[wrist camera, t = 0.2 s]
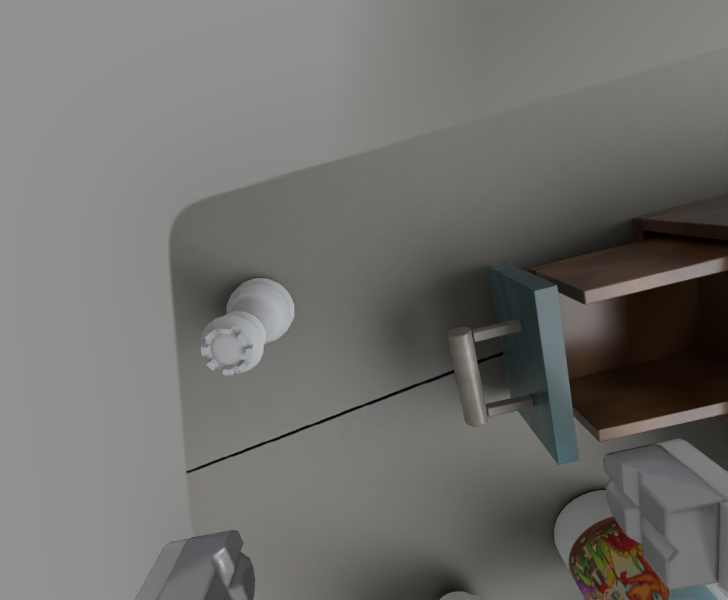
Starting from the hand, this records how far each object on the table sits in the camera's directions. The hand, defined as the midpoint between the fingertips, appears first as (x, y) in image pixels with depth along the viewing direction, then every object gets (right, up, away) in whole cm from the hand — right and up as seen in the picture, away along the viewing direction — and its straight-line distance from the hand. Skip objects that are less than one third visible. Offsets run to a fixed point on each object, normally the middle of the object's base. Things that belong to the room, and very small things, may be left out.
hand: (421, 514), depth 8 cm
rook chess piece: (-8, +4, +19) cm, 21 cm away
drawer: (+13, +3, +18) cm, 22 cm away
